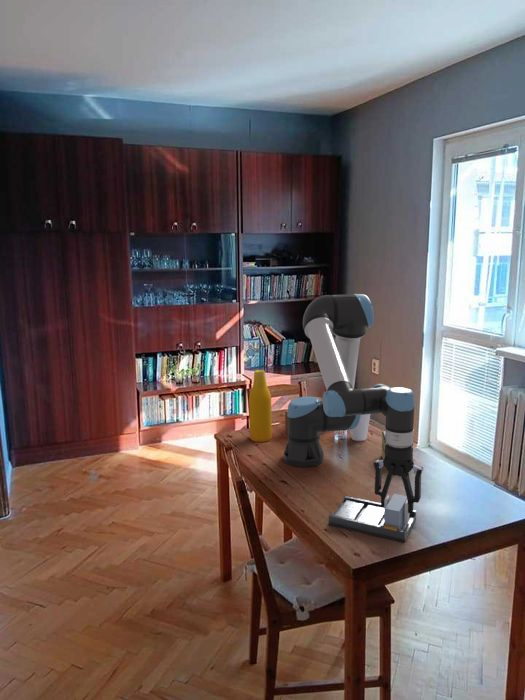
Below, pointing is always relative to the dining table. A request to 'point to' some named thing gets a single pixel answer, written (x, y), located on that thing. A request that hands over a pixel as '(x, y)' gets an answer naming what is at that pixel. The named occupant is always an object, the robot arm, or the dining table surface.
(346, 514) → the rack
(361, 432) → the foam cup
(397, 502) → the pale blue rectangular prism
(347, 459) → the dining table surface
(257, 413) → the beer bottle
